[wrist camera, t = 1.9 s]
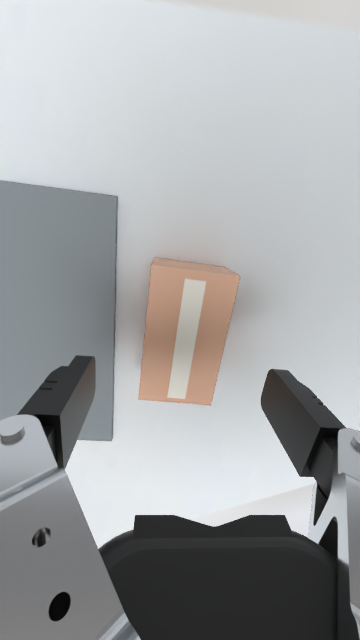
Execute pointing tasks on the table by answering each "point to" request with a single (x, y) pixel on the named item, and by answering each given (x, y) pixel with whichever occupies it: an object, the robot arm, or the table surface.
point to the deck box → (185, 330)
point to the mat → (57, 293)
